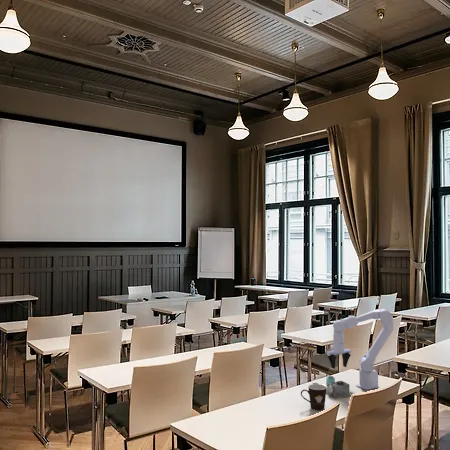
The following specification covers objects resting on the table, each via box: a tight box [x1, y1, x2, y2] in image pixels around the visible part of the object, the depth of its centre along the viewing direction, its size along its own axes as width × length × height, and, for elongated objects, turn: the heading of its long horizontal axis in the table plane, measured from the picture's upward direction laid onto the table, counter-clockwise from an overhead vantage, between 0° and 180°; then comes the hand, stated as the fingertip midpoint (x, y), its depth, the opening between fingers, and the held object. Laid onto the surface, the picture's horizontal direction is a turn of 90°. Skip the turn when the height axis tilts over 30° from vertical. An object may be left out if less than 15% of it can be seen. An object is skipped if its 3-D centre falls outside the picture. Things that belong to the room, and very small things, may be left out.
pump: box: [325, 375, 336, 386], centre depth 256 cm, size 4×4×7 cm
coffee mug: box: [300, 383, 327, 411], centre depth 230 cm, size 12×9×10 cm
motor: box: [320, 380, 353, 399], centre depth 252 cm, size 11×15×6 cm
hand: (339, 367), depth 264 cm, fingers open, 7 cm apart
